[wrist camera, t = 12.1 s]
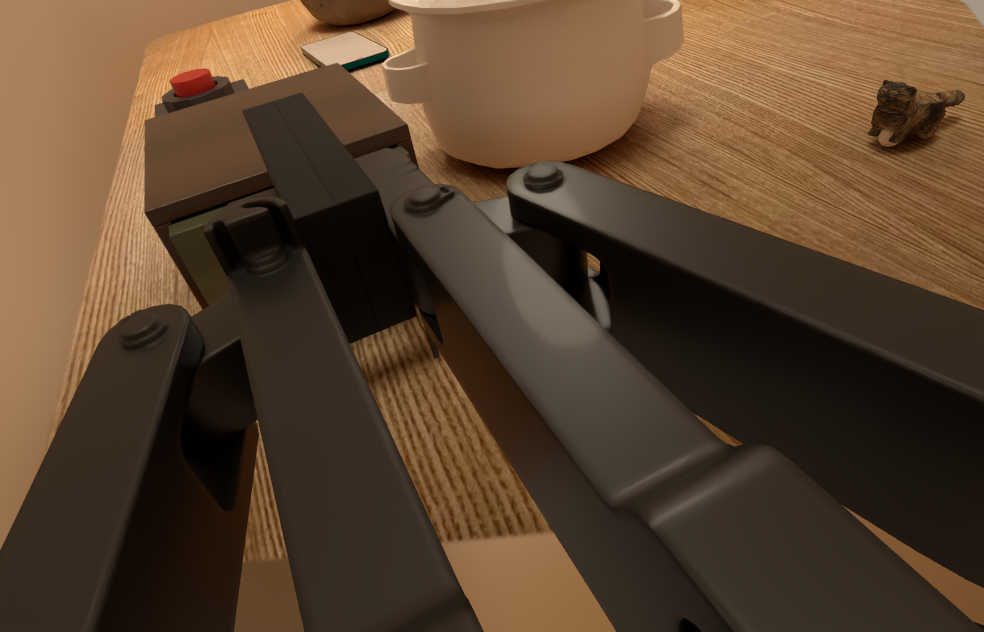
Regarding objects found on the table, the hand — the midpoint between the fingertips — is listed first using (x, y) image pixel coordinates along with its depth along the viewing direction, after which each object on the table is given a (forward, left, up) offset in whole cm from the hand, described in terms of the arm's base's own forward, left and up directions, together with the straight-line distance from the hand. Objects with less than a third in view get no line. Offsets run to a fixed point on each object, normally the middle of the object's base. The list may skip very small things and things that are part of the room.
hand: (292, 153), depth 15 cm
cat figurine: (+38, +8, -15) cm, 42 cm away
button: (-4, +56, -11) cm, 58 cm away
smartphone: (+14, +68, -15) cm, 71 cm away
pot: (+20, +26, -15) cm, 36 cm away
